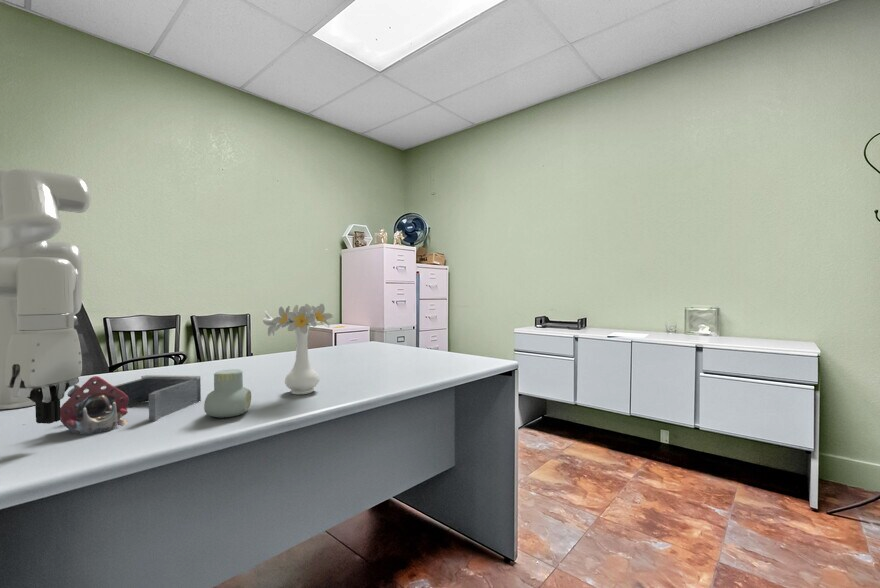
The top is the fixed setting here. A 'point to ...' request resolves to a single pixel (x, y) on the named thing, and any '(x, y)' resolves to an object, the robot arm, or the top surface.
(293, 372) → the flower vase
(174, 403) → the bracket
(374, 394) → the top surface
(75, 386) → the red and grey figure
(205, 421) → the top surface
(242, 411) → the grey rounded piece
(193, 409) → the top surface
